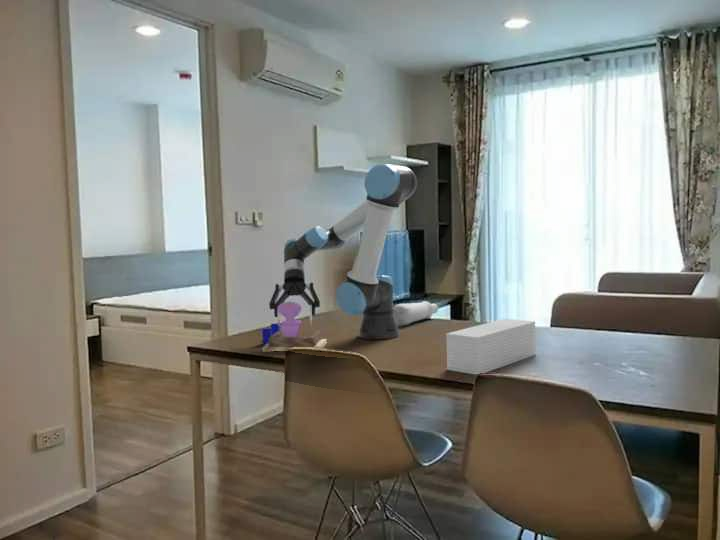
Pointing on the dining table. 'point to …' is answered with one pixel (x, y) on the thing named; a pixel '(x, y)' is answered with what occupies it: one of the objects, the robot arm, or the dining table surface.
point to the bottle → (413, 312)
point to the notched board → (293, 342)
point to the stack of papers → (490, 345)
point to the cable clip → (270, 332)
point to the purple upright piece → (290, 319)
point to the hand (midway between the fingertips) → (294, 322)
